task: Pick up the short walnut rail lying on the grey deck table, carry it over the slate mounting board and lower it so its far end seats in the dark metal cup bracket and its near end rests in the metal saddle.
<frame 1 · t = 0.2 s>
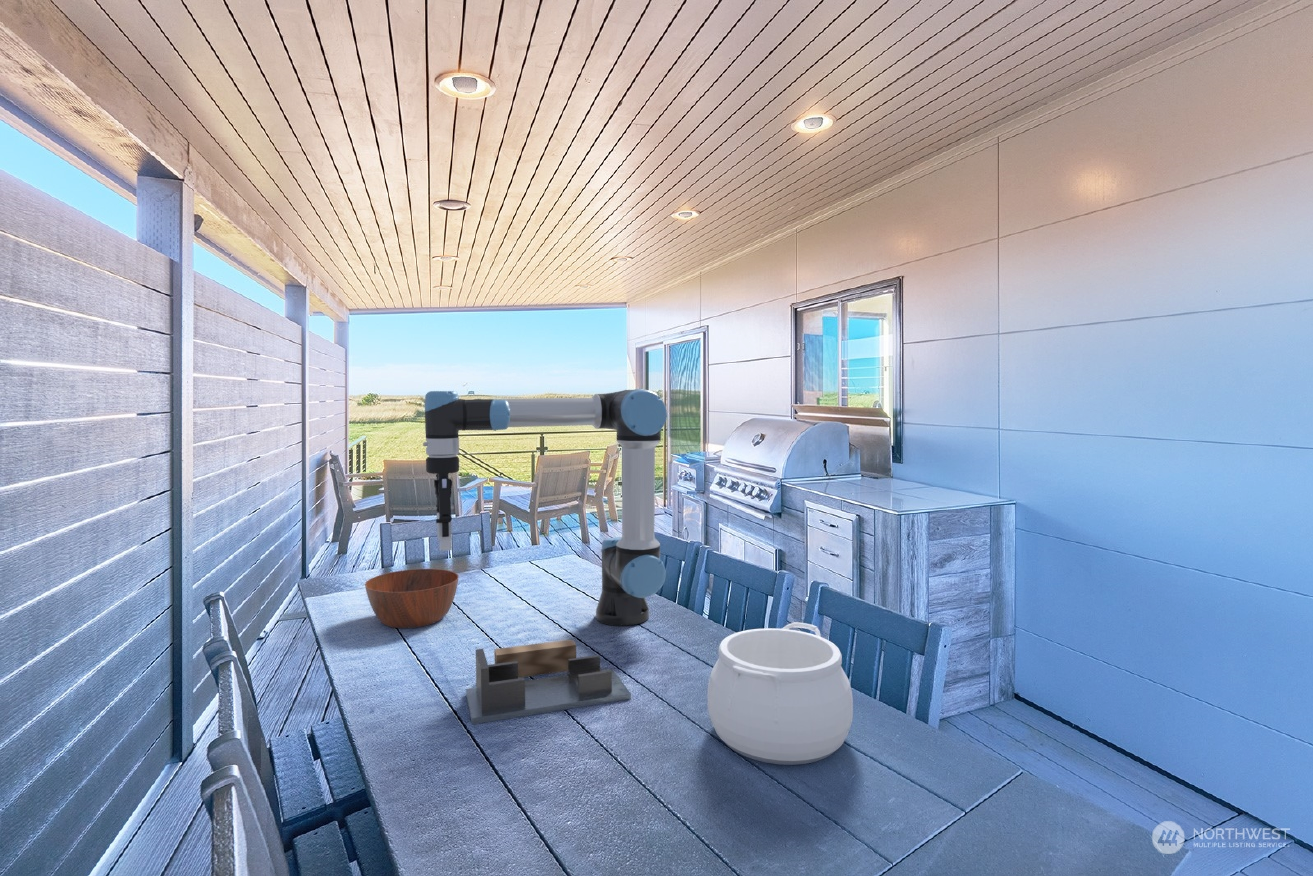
hand: (444, 544, 163), 28 cm above the table, fingers open, 13 cm apart
cup fixture: (547, 696, 142), on the table
rail: (536, 672, 155), on the table
bowl: (413, 620, 193), on the table
pot: (778, 737, 126), on the table
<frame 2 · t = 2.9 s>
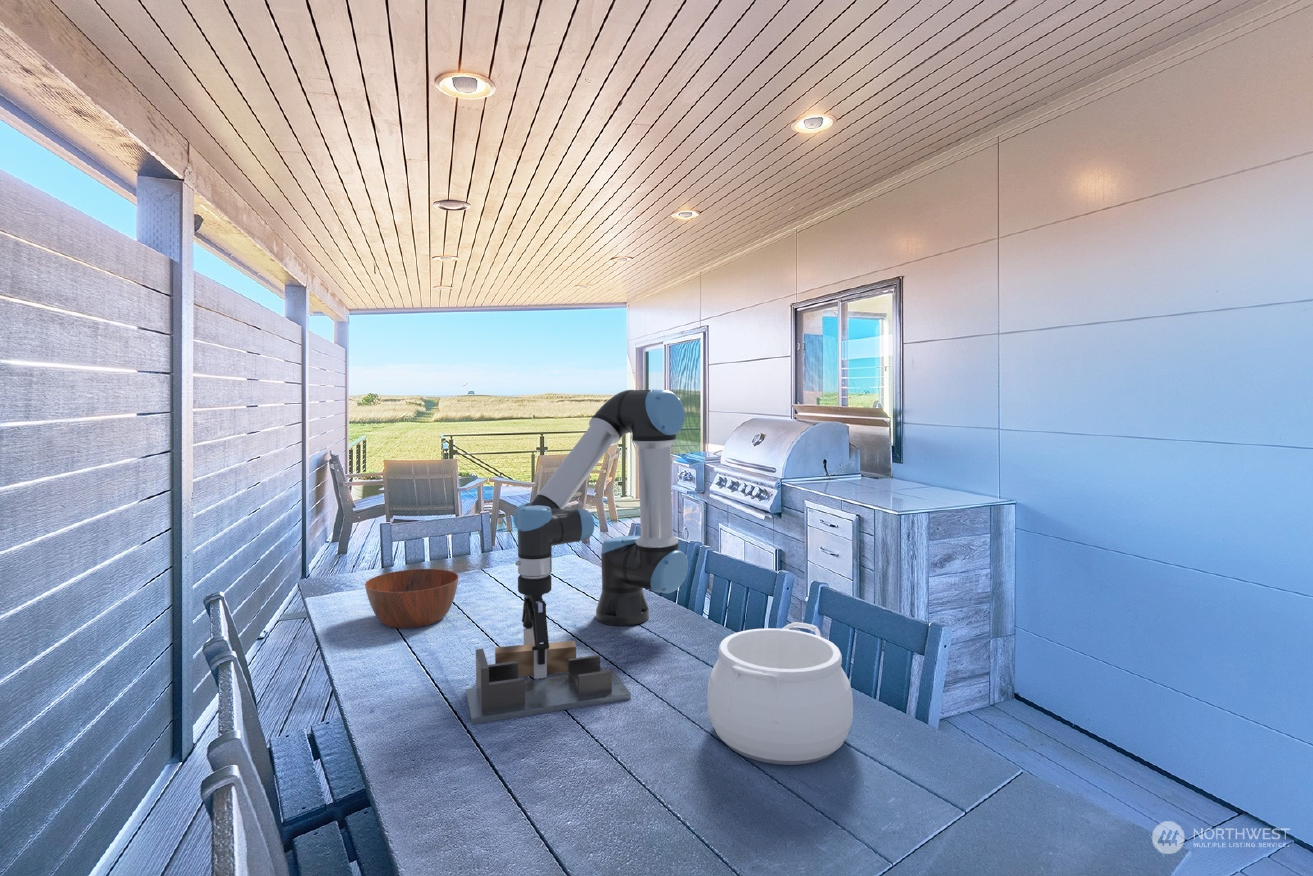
hand: (534, 666, 155), 1 cm above the table, fingers open, 13 cm apart
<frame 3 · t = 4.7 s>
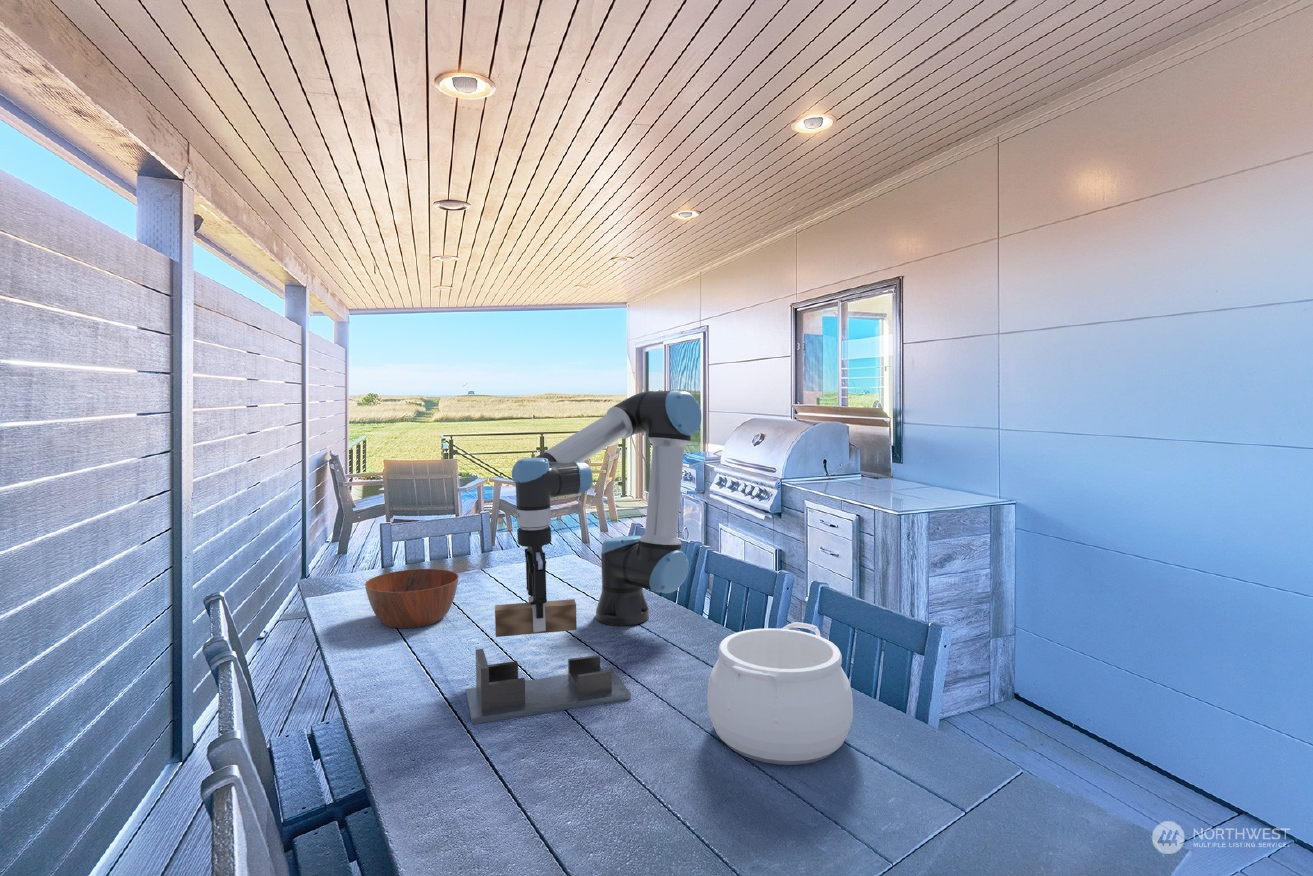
hand: (537, 627, 155), 10 cm above the table, fingers closed on rail, 4 cm apart
rail: (536, 630, 155), point 9 cm above the table, touching gripper
everything else where it was.
when the fingers open (4 cm above the table, at t = 8.3 s): rail stays where it is, resting on cup fixture.
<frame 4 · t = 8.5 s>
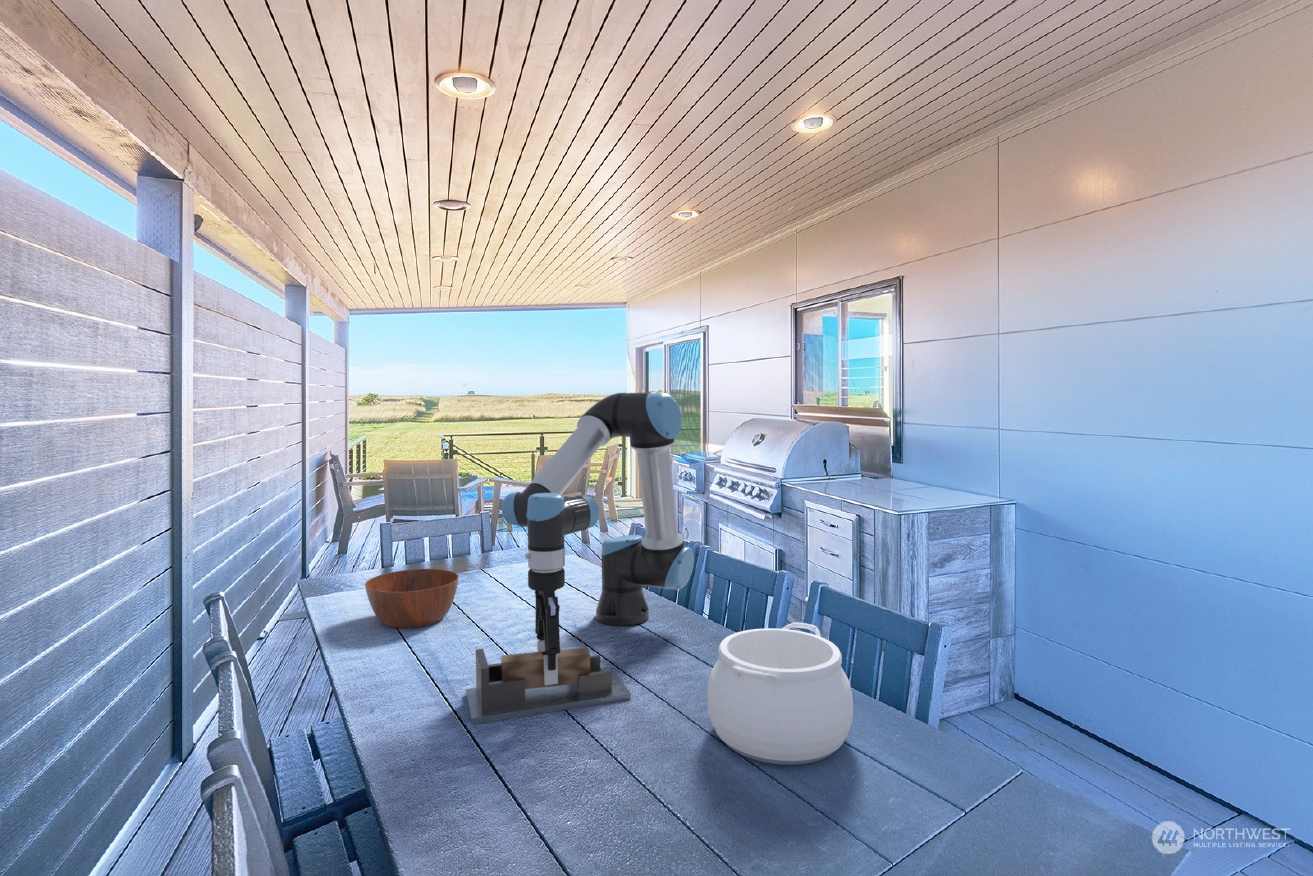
hand: (547, 676, 142), 4 cm above the table, fingers open, 7 cm apart
rail: (546, 683, 142), point 3 cm above the table, touching cup fixture
everything else where it was.
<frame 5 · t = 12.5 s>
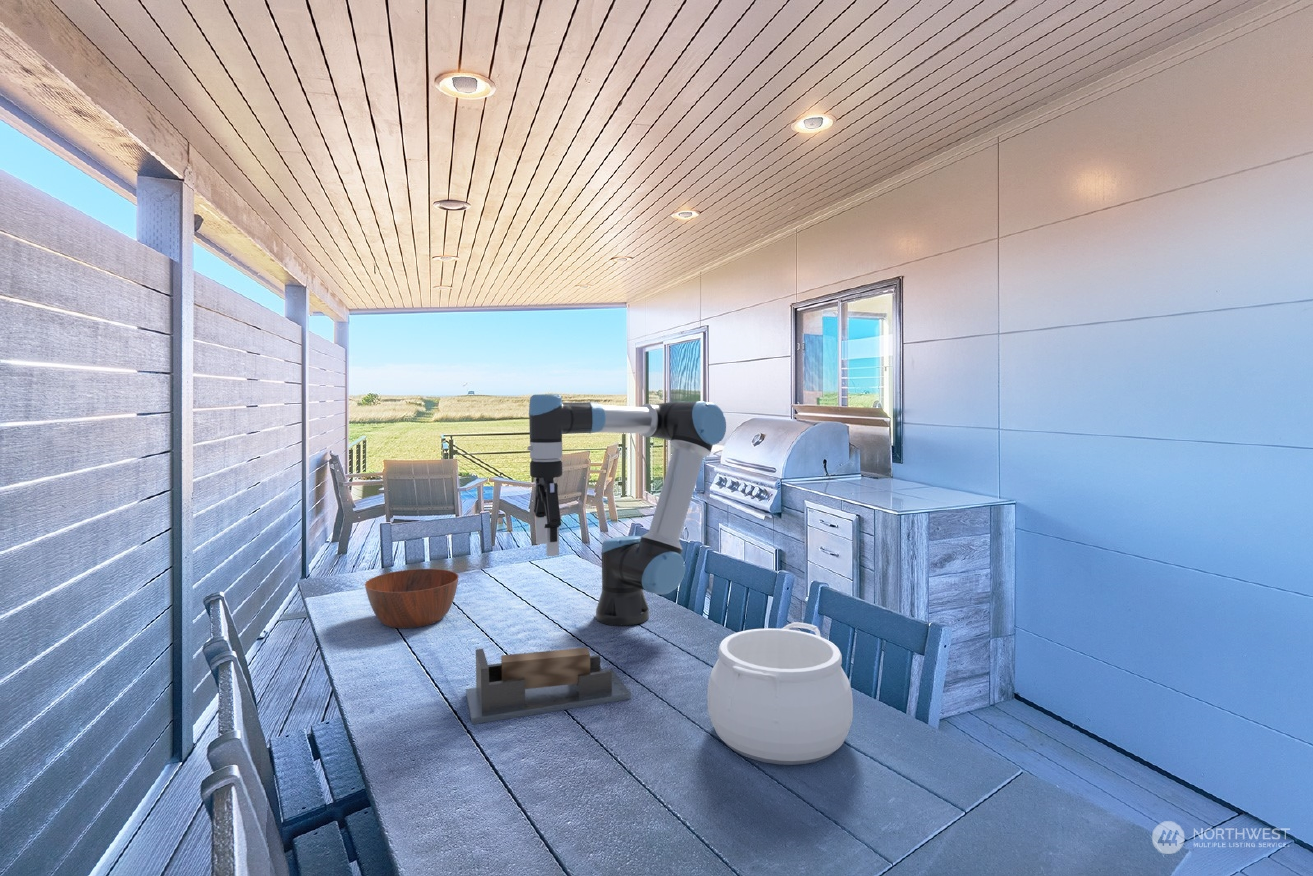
hand: (547, 549, 161), 27 cm above the table, fingers open, 13 cm apart
nothing on the table moved.
at the end: rail inside the target area (0.1 cm from its centre), point 3.0 cm above the table; rail tilted 0°; rail touching cup fixture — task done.
